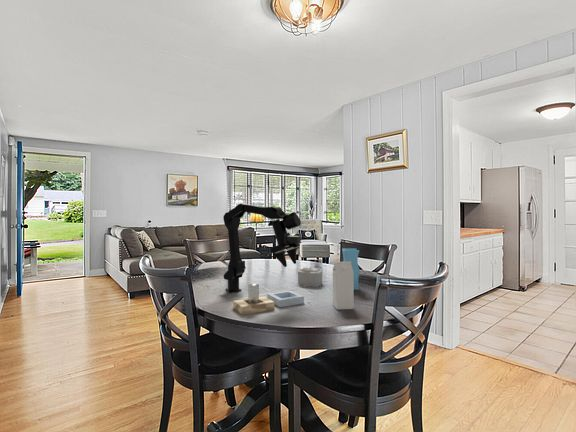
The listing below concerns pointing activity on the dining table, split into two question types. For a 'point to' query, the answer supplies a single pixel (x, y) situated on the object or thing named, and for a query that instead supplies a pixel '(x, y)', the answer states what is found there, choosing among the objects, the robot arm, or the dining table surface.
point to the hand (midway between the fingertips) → (290, 265)
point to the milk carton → (343, 285)
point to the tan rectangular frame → (253, 305)
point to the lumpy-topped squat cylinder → (310, 276)
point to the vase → (352, 263)
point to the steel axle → (253, 293)
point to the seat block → (286, 298)
